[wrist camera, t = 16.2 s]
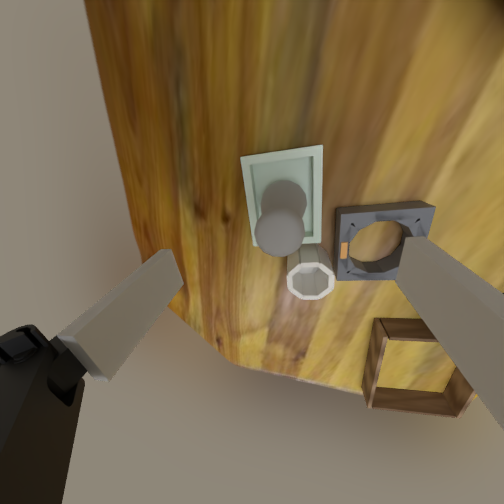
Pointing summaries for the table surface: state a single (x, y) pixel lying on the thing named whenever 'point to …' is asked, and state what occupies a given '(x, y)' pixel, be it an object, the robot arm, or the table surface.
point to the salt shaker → (281, 219)
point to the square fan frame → (357, 217)
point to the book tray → (410, 400)
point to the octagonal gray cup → (310, 272)
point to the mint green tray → (286, 168)
